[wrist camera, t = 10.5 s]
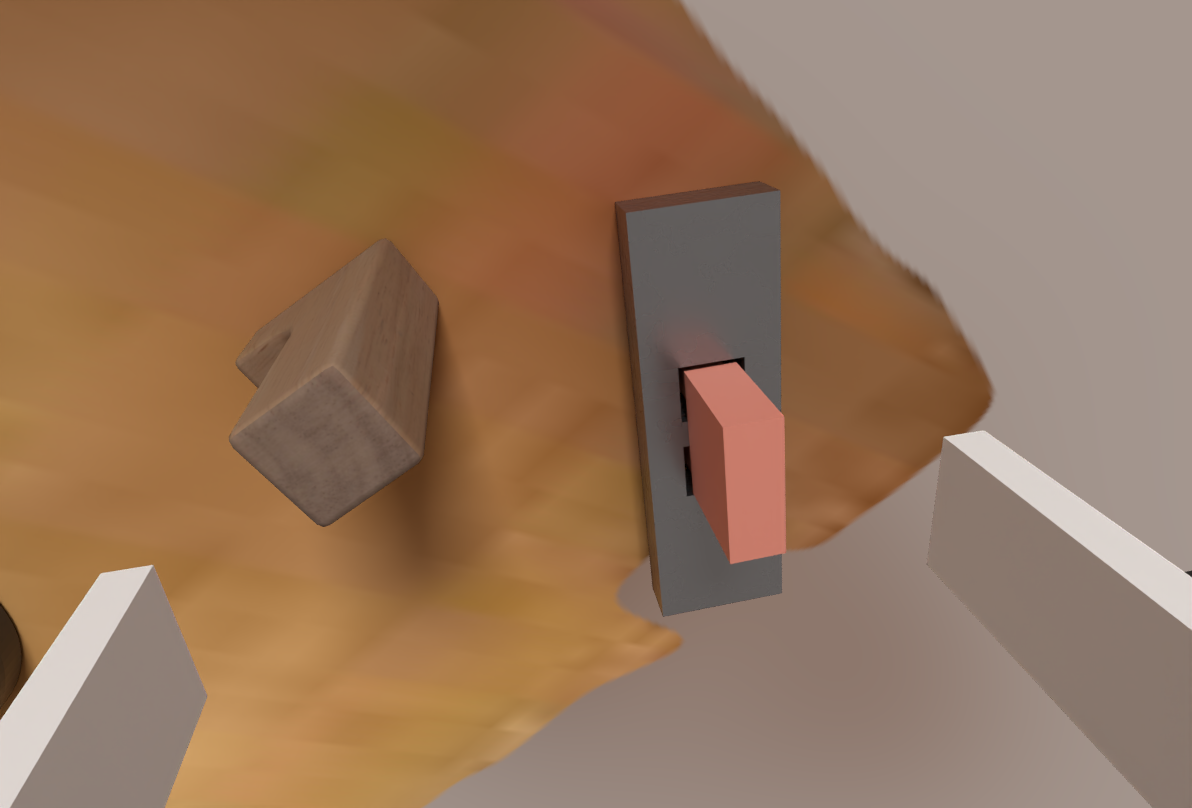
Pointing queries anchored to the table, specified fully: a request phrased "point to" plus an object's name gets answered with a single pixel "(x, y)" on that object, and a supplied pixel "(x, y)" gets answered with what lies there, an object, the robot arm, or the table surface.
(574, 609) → the table surface
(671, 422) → the rail
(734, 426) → the pink slab
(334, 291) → the wooden block
